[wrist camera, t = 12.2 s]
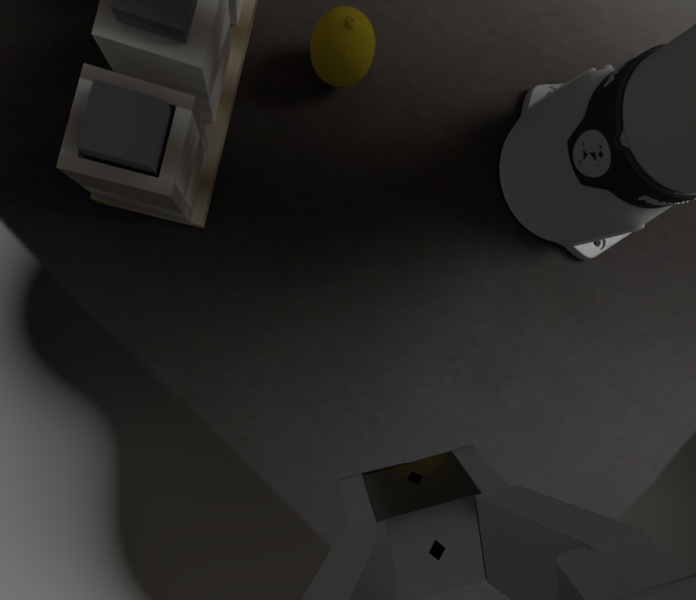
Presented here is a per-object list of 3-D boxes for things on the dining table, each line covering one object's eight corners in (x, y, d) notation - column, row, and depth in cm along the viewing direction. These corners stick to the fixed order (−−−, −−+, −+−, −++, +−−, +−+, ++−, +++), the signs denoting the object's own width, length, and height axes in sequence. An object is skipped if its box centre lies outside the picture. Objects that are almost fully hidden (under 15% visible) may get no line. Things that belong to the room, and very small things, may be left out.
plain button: (123, 121, 34) (93, 78, 28) (183, 138, 35) (167, 100, 29) (109, 177, 34) (75, 146, 27) (169, 192, 35) (150, 166, 28)
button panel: (165, -68, 40) (128, -225, 28) (265, -31, 42) (270, -165, 30) (96, 202, 38) (26, 154, 27) (203, 228, 40) (182, 194, 28)
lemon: (354, 110, 43) (376, 66, 35) (298, 89, 42) (308, 39, 34) (368, 57, 44) (393, 1, 36) (314, 35, 43) (327, -27, 35)
